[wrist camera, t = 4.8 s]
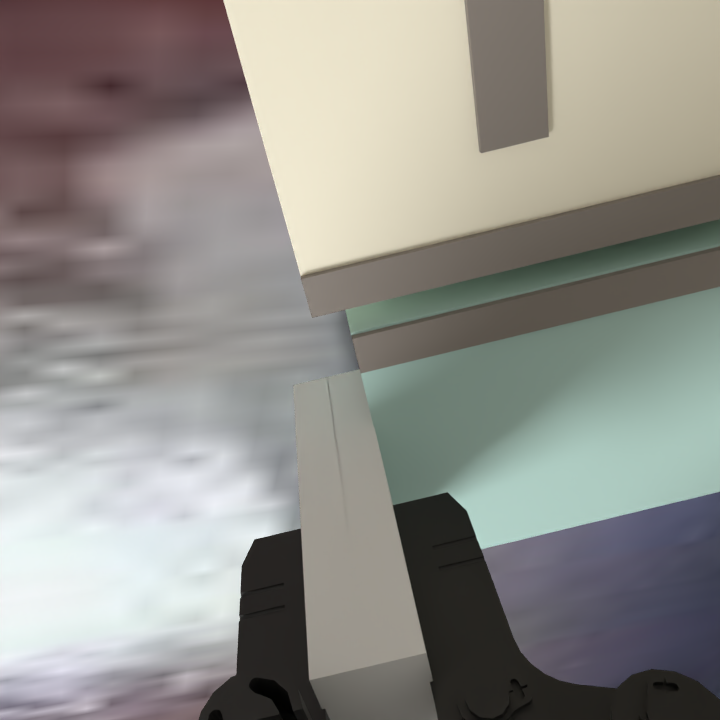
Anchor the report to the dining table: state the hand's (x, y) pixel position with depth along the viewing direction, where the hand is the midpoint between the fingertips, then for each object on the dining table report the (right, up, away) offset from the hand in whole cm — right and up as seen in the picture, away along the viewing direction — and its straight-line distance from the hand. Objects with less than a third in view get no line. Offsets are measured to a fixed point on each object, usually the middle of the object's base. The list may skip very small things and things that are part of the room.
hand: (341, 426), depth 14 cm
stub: (+4, +2, +1) cm, 5 cm away
